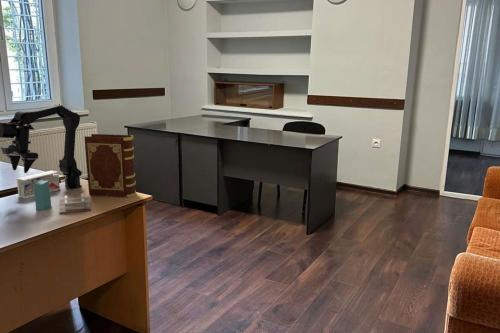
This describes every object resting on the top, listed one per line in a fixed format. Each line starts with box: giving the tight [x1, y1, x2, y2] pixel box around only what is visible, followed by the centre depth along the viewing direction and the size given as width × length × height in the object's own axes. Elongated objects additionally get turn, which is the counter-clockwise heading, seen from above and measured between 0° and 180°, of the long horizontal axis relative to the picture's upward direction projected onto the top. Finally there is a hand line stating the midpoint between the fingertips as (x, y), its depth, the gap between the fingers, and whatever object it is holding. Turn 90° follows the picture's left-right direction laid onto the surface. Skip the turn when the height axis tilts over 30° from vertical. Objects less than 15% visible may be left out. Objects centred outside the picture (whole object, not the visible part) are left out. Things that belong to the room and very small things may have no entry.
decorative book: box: [84, 133, 137, 198], centre depth 206 cm, size 22×8×30 cm, turn 84°
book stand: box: [58, 193, 92, 215], centre depth 191 cm, size 18×13×4 cm
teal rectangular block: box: [33, 181, 52, 211], centre depth 188 cm, size 6×4×12 cm, turn 0°
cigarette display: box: [15, 170, 61, 199], centre depth 210 cm, size 20×6×9 cm, turn 150°
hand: (19, 171), depth 196 cm, fingers open, 9 cm apart
